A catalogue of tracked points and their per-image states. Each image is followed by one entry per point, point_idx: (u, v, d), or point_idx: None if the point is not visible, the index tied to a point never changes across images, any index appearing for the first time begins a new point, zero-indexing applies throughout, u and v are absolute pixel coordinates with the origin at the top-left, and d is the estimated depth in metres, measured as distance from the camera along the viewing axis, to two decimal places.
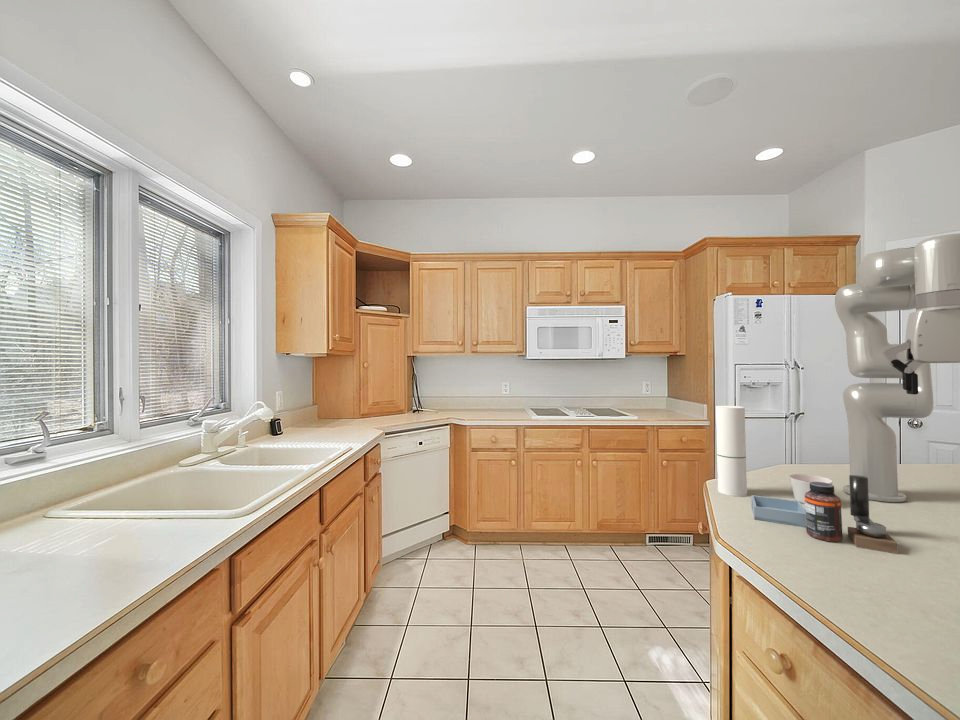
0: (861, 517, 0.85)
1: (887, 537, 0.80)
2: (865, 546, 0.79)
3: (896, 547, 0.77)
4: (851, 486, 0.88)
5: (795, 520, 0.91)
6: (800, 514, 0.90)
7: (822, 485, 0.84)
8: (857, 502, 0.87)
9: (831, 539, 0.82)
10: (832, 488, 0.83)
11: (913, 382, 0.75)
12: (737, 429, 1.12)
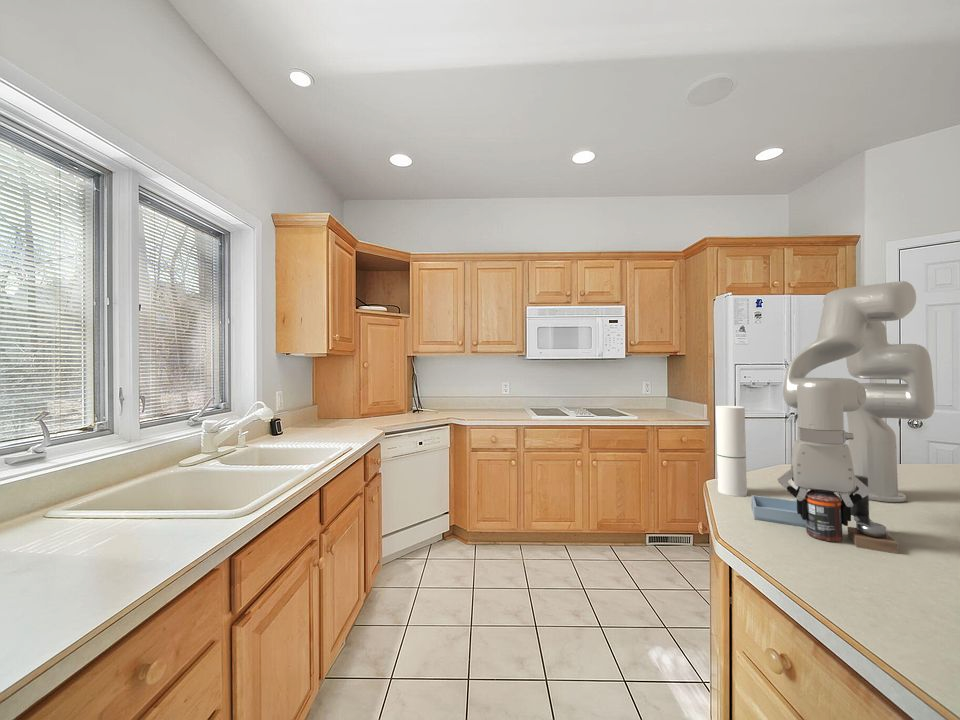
0: (861, 517, 0.85)
1: (887, 537, 0.80)
2: (865, 546, 0.79)
3: (896, 547, 0.77)
4: None
5: (795, 520, 0.91)
6: (800, 514, 0.90)
7: None
8: (857, 502, 0.87)
9: (831, 539, 0.82)
10: None
11: (803, 509, 0.85)
12: (737, 429, 1.12)
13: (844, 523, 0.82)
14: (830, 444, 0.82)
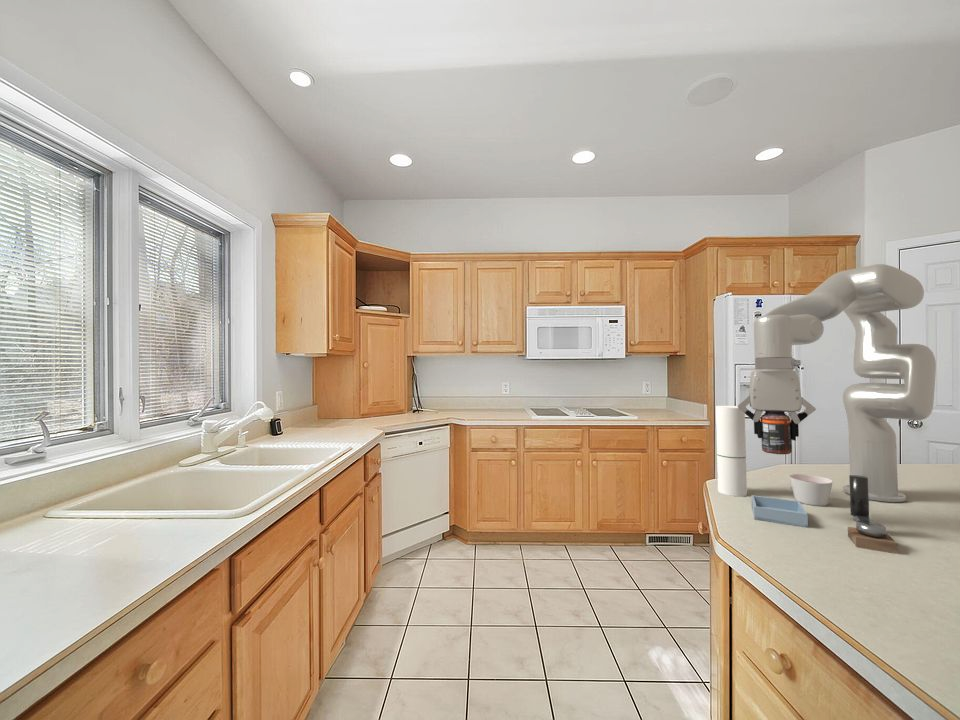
0: (861, 517, 0.85)
1: (887, 537, 0.80)
2: (865, 546, 0.79)
3: (896, 547, 0.77)
4: (851, 486, 0.88)
5: (795, 520, 0.91)
6: (800, 514, 0.90)
7: None
8: (857, 502, 0.87)
9: (781, 452, 0.94)
10: None
11: (758, 429, 0.98)
12: (737, 429, 1.12)
13: (792, 438, 0.94)
14: (780, 369, 0.94)
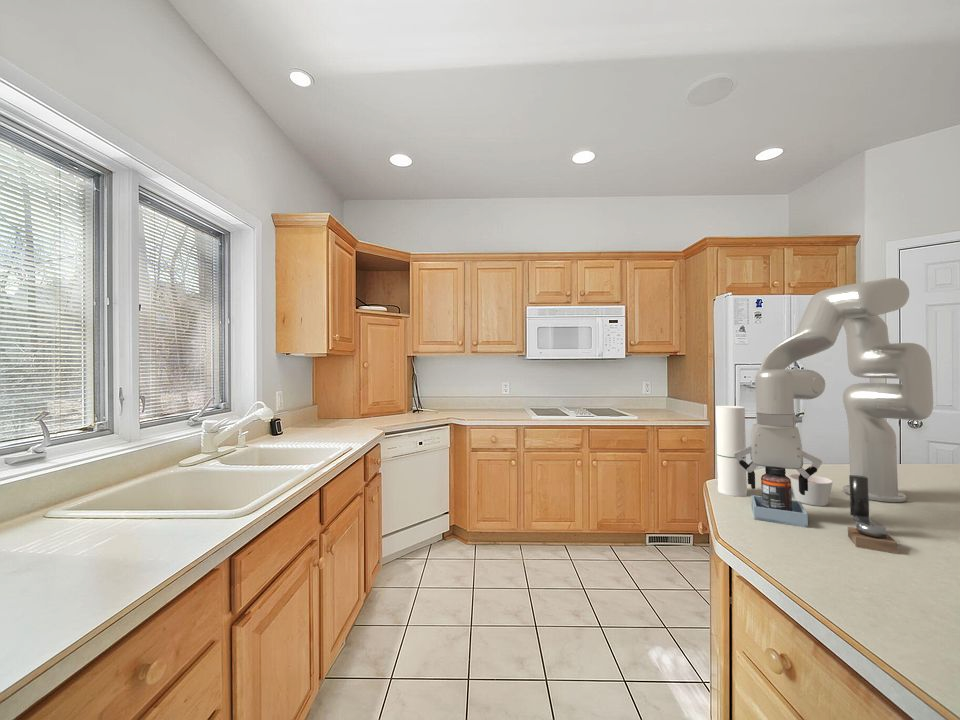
0: (861, 517, 0.85)
1: (887, 537, 0.80)
2: (865, 546, 0.79)
3: (896, 547, 0.77)
4: (851, 486, 0.88)
5: (795, 520, 0.91)
6: (800, 514, 0.90)
7: (775, 468, 0.96)
8: (857, 502, 0.87)
9: None
10: (783, 470, 0.95)
11: (752, 479, 0.98)
12: (737, 429, 1.12)
13: (802, 492, 0.93)
14: (781, 426, 0.93)
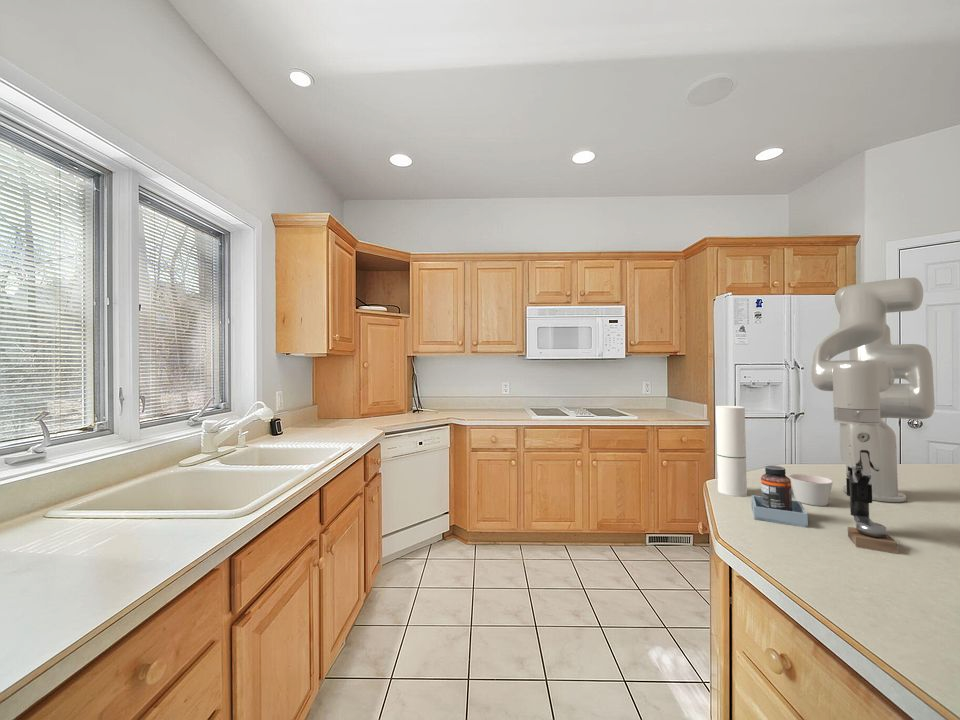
0: (861, 517, 0.85)
1: (887, 537, 0.80)
2: (865, 546, 0.79)
3: (896, 547, 0.77)
4: None
5: (795, 520, 0.91)
6: (800, 514, 0.90)
7: (775, 468, 0.96)
8: (857, 502, 0.87)
9: None
10: (783, 470, 0.95)
11: None
12: (737, 429, 1.12)
13: None
14: (836, 420, 0.89)
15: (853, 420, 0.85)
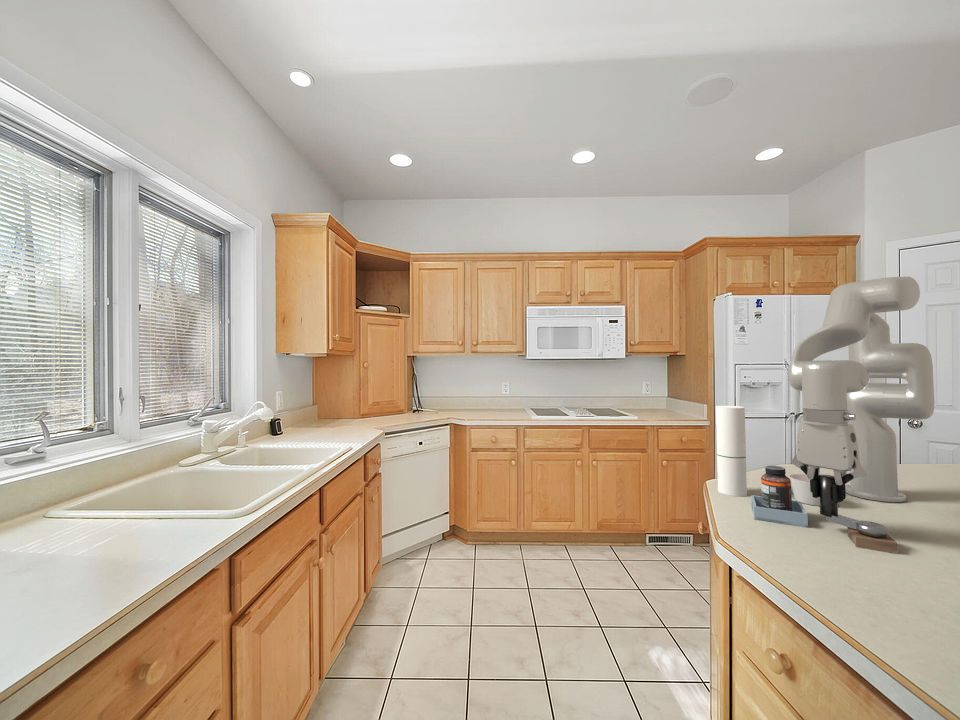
0: (841, 517, 0.86)
1: (887, 537, 0.80)
2: (865, 546, 0.79)
3: (896, 547, 0.77)
4: (827, 487, 0.87)
5: (795, 520, 0.91)
6: (800, 514, 0.90)
7: (775, 468, 0.96)
8: (833, 502, 0.87)
9: None
10: (783, 470, 0.95)
11: (812, 487, 0.89)
12: (737, 429, 1.12)
13: (833, 500, 0.86)
14: (822, 423, 0.86)
15: (842, 421, 0.85)
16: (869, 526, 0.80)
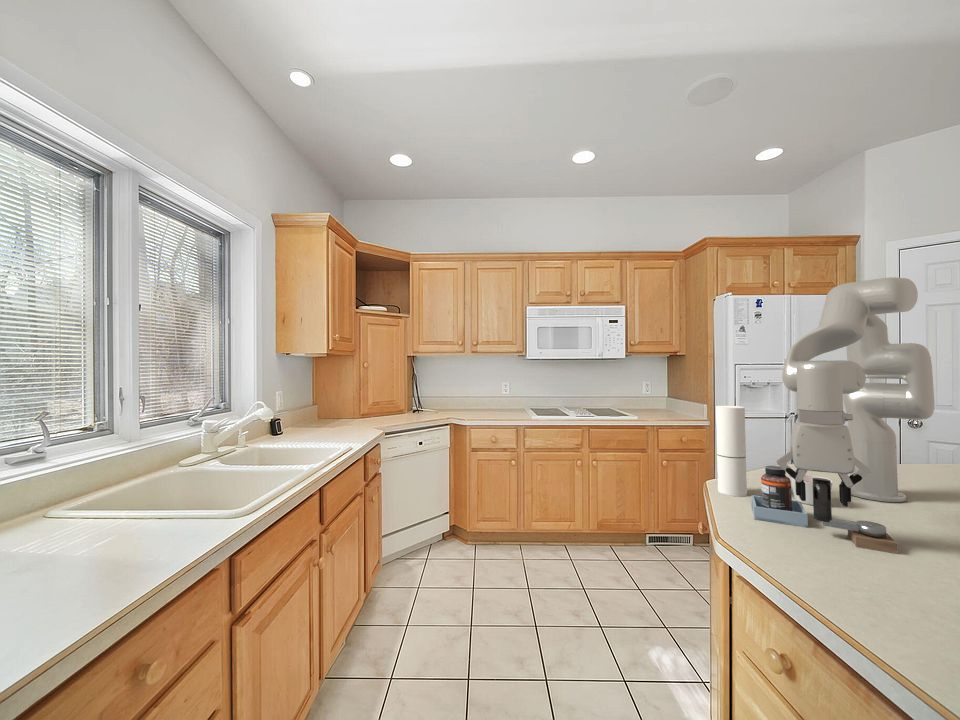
0: (838, 520, 0.84)
1: (887, 537, 0.80)
2: (865, 546, 0.79)
3: (896, 547, 0.77)
4: (825, 491, 0.84)
5: (795, 520, 0.91)
6: (800, 514, 0.90)
7: (775, 468, 0.96)
8: (830, 506, 0.84)
9: None
10: (783, 470, 0.95)
11: (801, 490, 0.86)
12: (737, 429, 1.12)
13: (844, 504, 0.82)
14: (829, 425, 0.82)
15: (843, 422, 0.82)
16: (875, 527, 0.80)
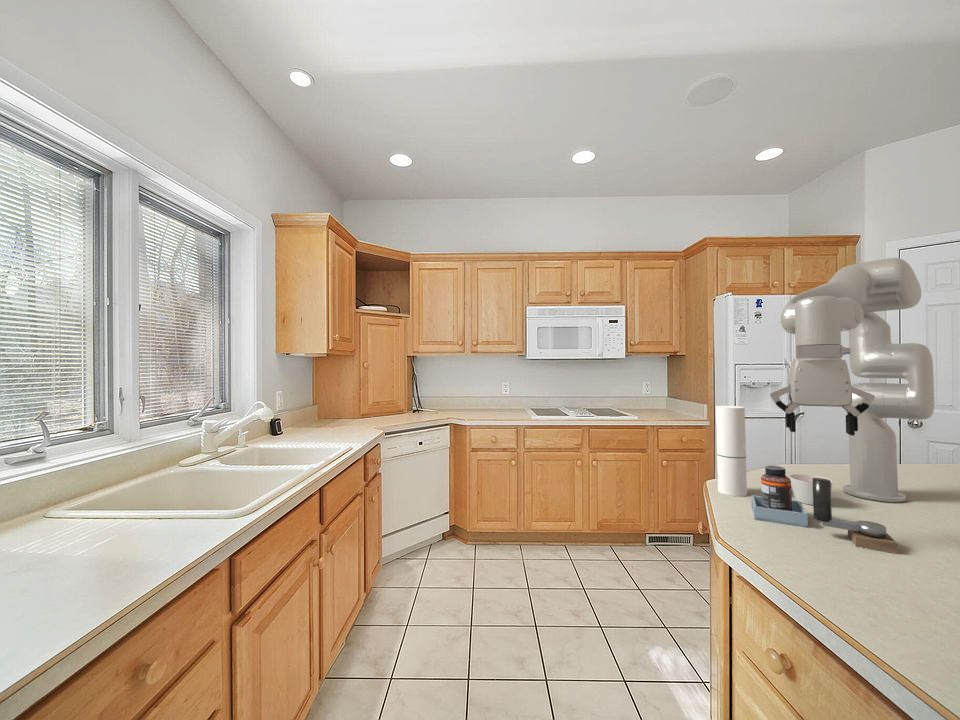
0: (838, 520, 0.84)
1: (887, 537, 0.80)
2: (865, 546, 0.79)
3: (896, 547, 0.77)
4: (825, 491, 0.84)
5: (795, 520, 0.91)
6: (800, 514, 0.90)
7: (775, 468, 0.96)
8: (830, 506, 0.84)
9: None
10: (783, 470, 0.95)
11: (791, 421, 0.87)
12: (737, 429, 1.12)
13: (851, 433, 0.82)
14: (827, 357, 0.82)
15: (841, 355, 0.83)
16: (875, 527, 0.80)
